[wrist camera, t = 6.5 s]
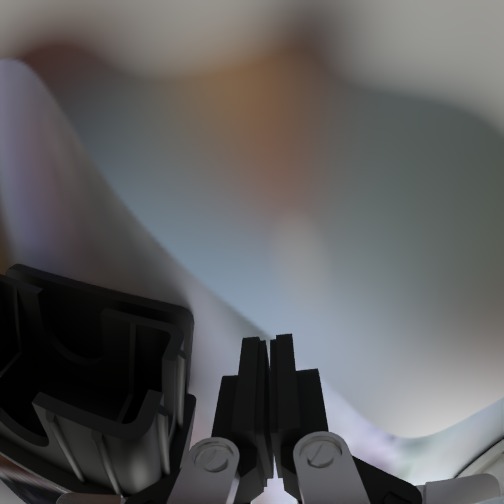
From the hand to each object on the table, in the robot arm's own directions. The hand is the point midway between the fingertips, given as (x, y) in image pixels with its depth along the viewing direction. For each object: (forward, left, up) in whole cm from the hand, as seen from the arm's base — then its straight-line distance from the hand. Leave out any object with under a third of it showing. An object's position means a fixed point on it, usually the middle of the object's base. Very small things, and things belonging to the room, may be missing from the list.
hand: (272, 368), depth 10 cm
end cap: (+8, 0, -2) cm, 8 cm away
